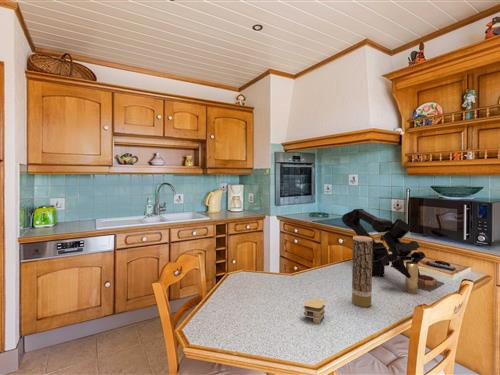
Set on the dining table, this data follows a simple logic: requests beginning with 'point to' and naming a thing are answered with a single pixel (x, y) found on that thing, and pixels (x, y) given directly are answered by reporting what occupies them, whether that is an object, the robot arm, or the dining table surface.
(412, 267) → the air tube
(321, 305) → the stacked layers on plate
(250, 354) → the dining table surface
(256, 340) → the dining table surface
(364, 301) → the bark covered log
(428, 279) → the brown base plate
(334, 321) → the dining table surface
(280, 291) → the dining table surface
